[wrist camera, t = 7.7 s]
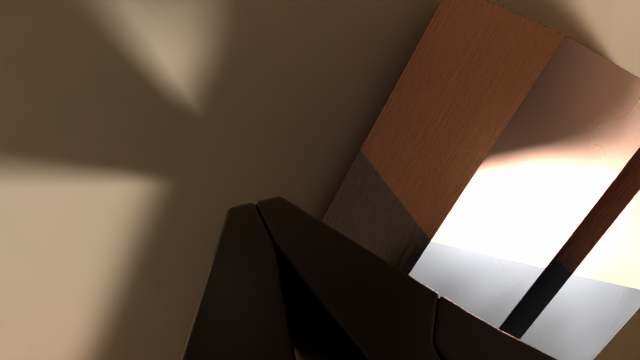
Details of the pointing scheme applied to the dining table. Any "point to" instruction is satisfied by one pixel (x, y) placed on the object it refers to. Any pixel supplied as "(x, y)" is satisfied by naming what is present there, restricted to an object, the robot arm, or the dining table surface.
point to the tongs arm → (488, 155)
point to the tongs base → (587, 279)
